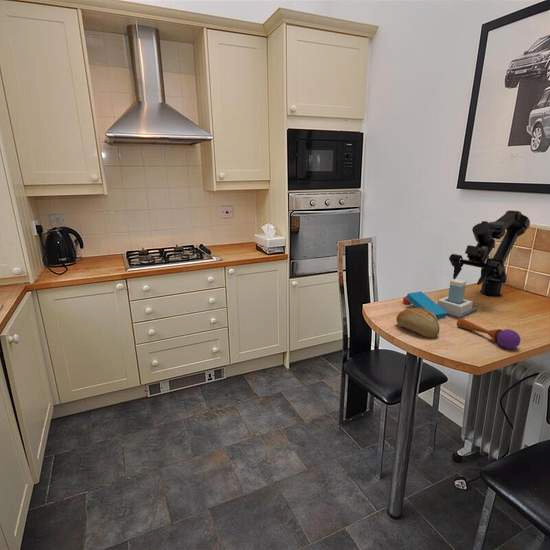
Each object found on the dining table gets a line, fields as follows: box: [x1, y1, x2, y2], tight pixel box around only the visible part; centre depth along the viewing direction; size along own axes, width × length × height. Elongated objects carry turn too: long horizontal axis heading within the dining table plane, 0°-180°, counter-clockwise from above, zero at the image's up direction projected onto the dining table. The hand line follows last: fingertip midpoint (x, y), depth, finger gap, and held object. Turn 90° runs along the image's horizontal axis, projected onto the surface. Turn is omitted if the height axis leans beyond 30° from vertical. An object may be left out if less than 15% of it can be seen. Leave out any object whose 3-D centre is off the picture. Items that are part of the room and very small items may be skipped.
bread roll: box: [396, 306, 441, 339], centre depth 122 cm, size 10×15×8 cm, turn 39°
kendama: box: [456, 318, 522, 350], centre depth 117 cm, size 6×6×20 cm
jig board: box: [437, 295, 478, 320], centre depth 140 cm, size 14×11×4 cm
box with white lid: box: [447, 278, 467, 305], centre depth 138 cm, size 4×4×11 cm
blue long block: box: [402, 291, 447, 320], centre depth 141 cm, size 7×7×18 cm
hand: (465, 281), depth 141 cm, fingers open, 9 cm apart
